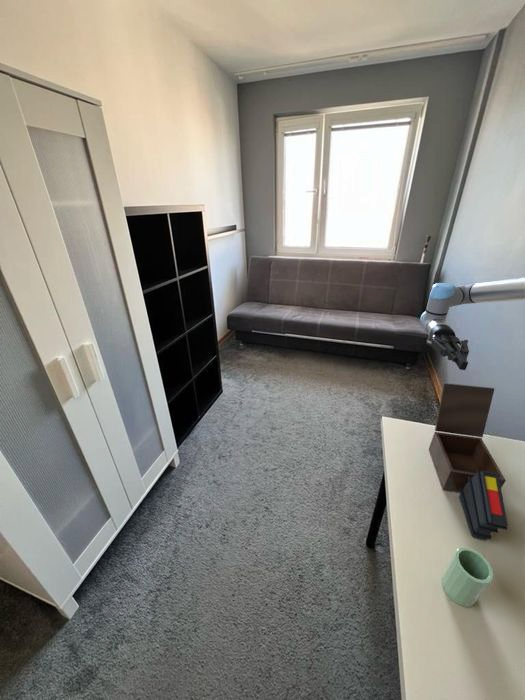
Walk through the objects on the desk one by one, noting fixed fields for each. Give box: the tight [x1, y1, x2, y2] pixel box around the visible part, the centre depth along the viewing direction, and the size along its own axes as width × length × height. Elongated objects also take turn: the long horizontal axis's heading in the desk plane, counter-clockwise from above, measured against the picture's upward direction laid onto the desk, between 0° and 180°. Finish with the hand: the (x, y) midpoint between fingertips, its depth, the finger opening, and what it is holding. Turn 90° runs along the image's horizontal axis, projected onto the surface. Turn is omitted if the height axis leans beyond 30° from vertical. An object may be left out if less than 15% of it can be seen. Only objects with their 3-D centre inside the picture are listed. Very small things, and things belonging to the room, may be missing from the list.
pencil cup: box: [441, 546, 494, 608], centre depth 56 cm, size 6×6×10 cm
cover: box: [434, 382, 495, 438], centre depth 82 cm, size 16×13×1 cm
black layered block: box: [458, 470, 509, 541], centre depth 67 cm, size 4×13×15 cm, turn 163°
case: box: [428, 431, 507, 494], centre depth 80 cm, size 15×13×8 cm
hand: (464, 366), depth 84 cm, fingers closed
